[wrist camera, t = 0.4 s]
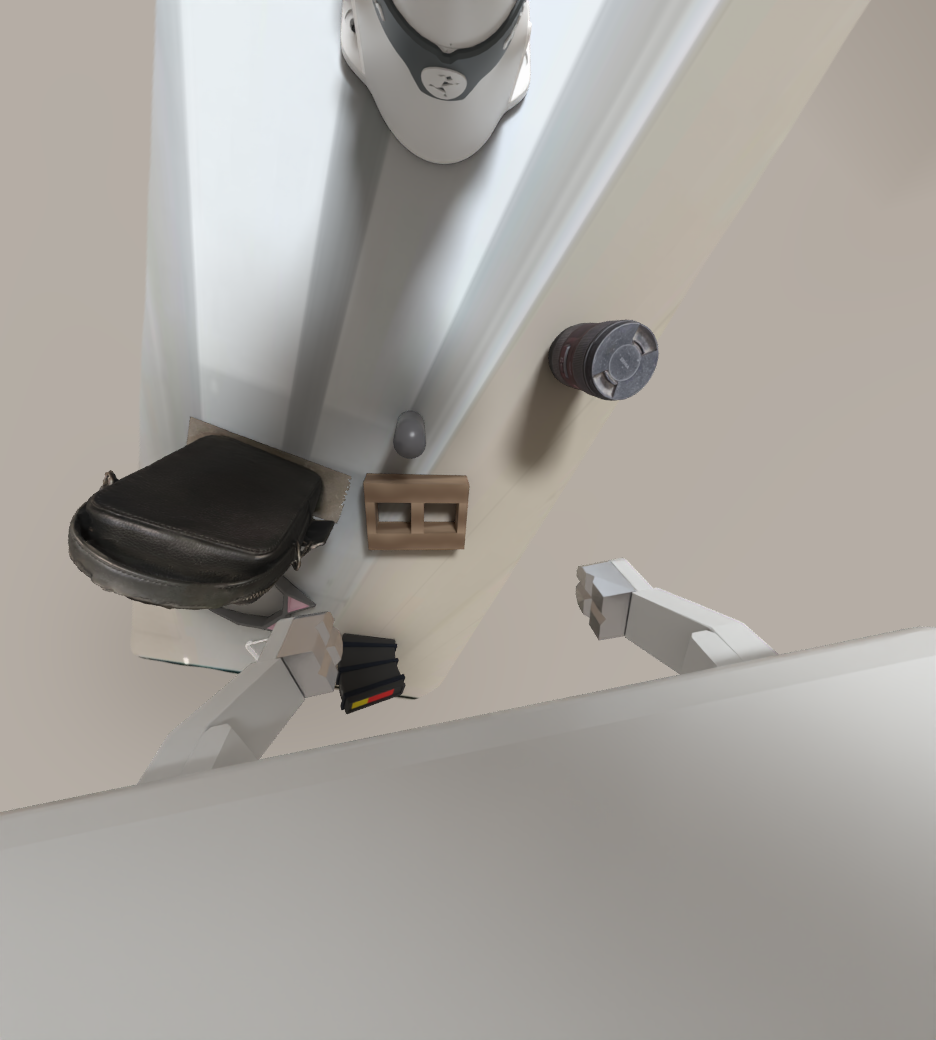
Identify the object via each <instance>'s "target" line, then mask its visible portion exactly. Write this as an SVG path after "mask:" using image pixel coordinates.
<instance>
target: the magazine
mask: <svg viewBox="0 0 936 1040" xmlns="http://www.w3.org/2000/svg"><path fill="white" fill-rule="evenodd" d="M342 642H343V653H342V657H341V660H340V661H339V662H338V674H337V678H336V685H339V691H340V696H341V699H342V702H341V710H344V709H345V712H346V714H349V713H351V712H354V711H357V710H360V709H363V708H366V707H368V706H371V705H374V704H376V703H379V702H382V701H385V700H388V699H390V698H393V697H396V696H399V695H401V694H402V693H403V690H404V688H405V683H404V679H405V676H404V674H402V675H401V674H400V672H399V670H398V668H397V663H398V658H395V651H396V648H397V644H395V640H394V639H386V638H378V637H370V636H362V635H354V634H344V635H343V638H342Z"/></svg>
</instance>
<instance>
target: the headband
mask: <svg viewBox="0 0 936 1040" xmlns="http://www.w3.org/2000/svg"><path fill="white" fill-rule="evenodd" d="M274 585H275V586H276V587H277V588H278V589H279V590H280V591H281V592H282V593H283V594H284V596H283V609H282V610H280V611H278V612H277V613H275V614H273V615H272V616H270V617H263V616H256V615H247V614H242V613H239V612H236V611H232V610H229V609H226V608H222V607H220V608H217V609H209V610H210V611H212V612H214V613H216V614H218V615H220V616H222V617H224V618H226V619H228V620H230V621H232V622H234V623H236V624H238V625H243V626H248V627H254V628H259V629H264V630H268V631H272V630H273V628H274V626H275V624H276V623H277V622H278V621H279V620H280V619H284V618H291V613H295V612H298V611H301V610H305V609H308V608H311V607H315V606H316V604H315V603H314V602H313V601H311V600H310V599H309V598H308V597H307V596H305V595H304V594H303V593H302V592H300V591H299V590H298V589H297V588H296V587H294V586H293V585H292V584H291V583H290V582H289V581H288V580H287V579H286V578H285V577H284V576H283V575H282V576H281V577H280V578H279V579H278V581H277V582H276V583H275V584H274Z"/></svg>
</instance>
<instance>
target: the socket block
mask: <svg viewBox="0 0 936 1040" xmlns="http://www.w3.org/2000/svg"><path fill="white" fill-rule="evenodd" d="M363 485H364V498H365V510H366V523H367V535H368V548H369V550H453V549H464V545H465V533H466V521H467V508H468V496H469V482H468V479H467V476H460V475H416V474H372V473H367V474H366V477H365V480H364V483H363ZM378 503H411V522H379V517H378ZM424 503H456V513H455V522H424Z"/></svg>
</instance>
